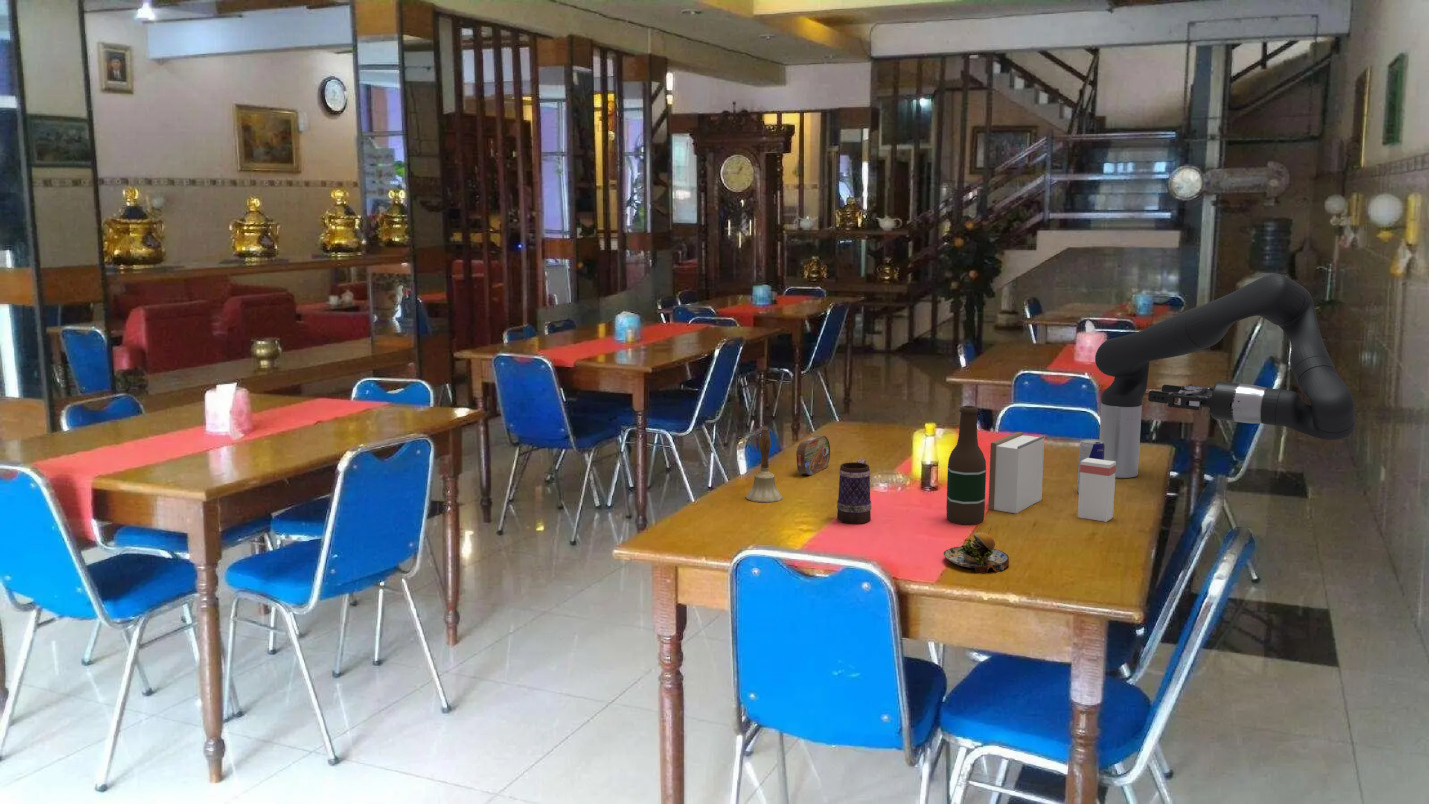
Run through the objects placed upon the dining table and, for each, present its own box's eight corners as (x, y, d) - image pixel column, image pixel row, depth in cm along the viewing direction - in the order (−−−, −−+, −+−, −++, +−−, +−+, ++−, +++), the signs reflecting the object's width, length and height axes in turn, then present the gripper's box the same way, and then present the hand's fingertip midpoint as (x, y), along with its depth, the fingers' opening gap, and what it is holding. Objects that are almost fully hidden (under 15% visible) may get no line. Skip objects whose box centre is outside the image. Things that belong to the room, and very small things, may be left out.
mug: (864, 526, 232) (865, 469, 230) (832, 522, 235) (832, 465, 233) (879, 513, 241) (880, 458, 239) (848, 510, 244) (848, 455, 242)
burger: (946, 552, 215) (947, 514, 214) (1010, 557, 212) (1012, 518, 211) (940, 571, 204) (941, 531, 203) (1007, 577, 201) (1009, 536, 199)
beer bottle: (986, 516, 238) (990, 404, 234) (982, 526, 231) (986, 410, 227) (948, 513, 241) (952, 402, 237) (943, 523, 234) (947, 408, 229)
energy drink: (1103, 496, 254) (1106, 444, 252) (1078, 495, 255) (1081, 443, 253) (1100, 490, 259) (1103, 439, 257) (1075, 489, 260) (1078, 438, 258)
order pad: (1015, 495, 255) (1017, 431, 253) (1041, 499, 252) (1044, 435, 249) (988, 509, 244) (990, 442, 242) (1015, 513, 240) (1018, 446, 238)
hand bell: (788, 495, 257) (788, 426, 254) (774, 504, 249) (774, 433, 246) (754, 491, 260) (754, 423, 257) (739, 500, 253) (739, 430, 250)
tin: (805, 478, 272) (805, 444, 271) (793, 477, 274) (794, 443, 272) (831, 466, 285) (831, 433, 284) (819, 464, 287) (820, 432, 285)
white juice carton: (1084, 512, 241) (1087, 457, 239) (1113, 517, 237) (1116, 461, 235) (1077, 517, 238) (1080, 461, 236) (1106, 521, 234) (1109, 465, 232)
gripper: (1251, 379, 227) (1167, 370, 237) (1232, 389, 216) (1145, 379, 226) (1247, 415, 229) (1164, 405, 238) (1228, 427, 218) (1142, 416, 227)
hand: (1155, 392), depth 232 cm, fingers open, 8 cm apart
